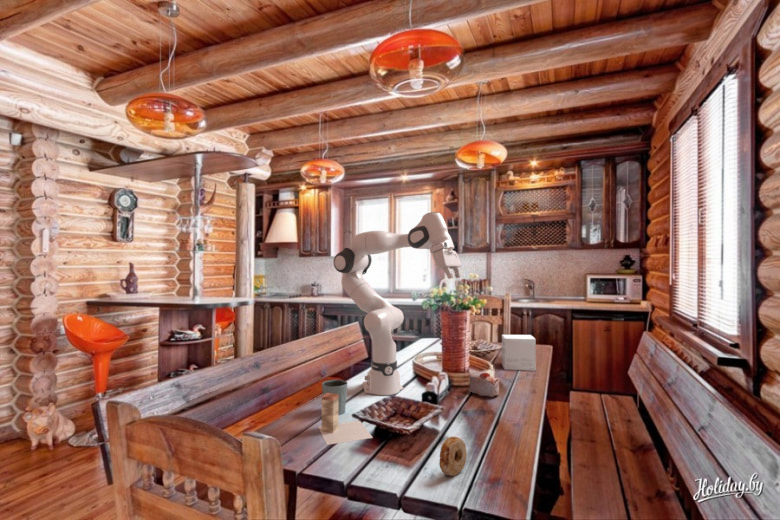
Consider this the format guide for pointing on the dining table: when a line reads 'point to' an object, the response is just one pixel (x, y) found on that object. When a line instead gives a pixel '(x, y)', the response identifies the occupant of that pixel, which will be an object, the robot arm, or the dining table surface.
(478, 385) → the food item
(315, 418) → the dining table surface
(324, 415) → the birch block
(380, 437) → the dining table surface
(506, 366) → the supplement box
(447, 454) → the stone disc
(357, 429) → the felt mat
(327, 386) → the grey green cup
